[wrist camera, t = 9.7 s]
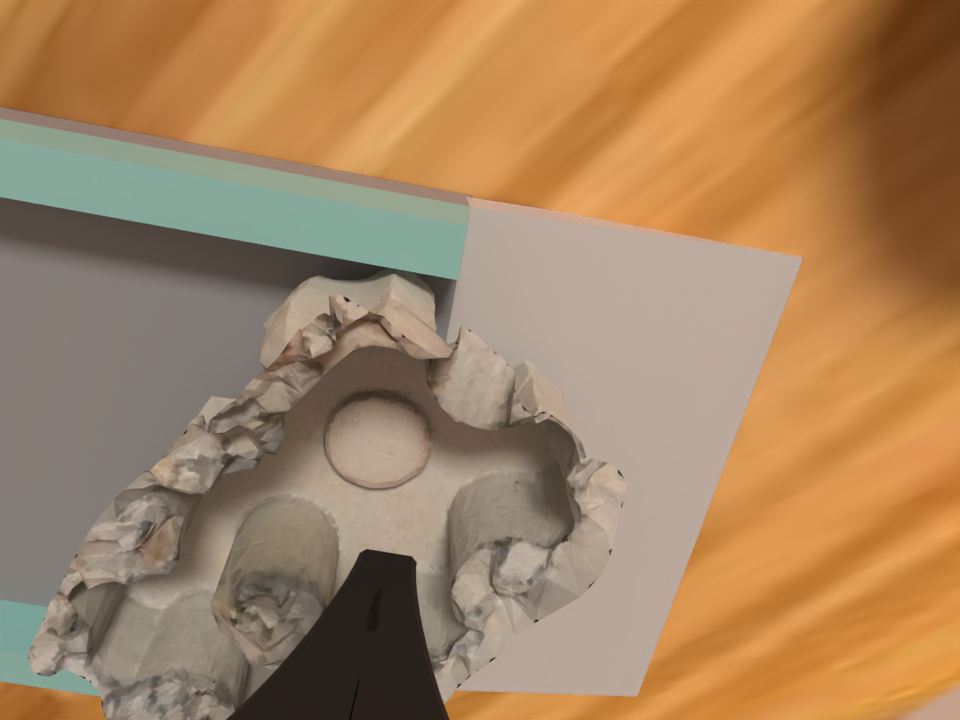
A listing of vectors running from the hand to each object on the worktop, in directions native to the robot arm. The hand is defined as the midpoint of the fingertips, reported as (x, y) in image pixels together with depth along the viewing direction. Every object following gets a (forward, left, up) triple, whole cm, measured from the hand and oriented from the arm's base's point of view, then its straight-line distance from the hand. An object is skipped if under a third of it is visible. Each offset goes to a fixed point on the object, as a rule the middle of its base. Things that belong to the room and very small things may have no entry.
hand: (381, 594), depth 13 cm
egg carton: (0, +4, -4) cm, 6 cm away
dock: (0, +4, -5) cm, 6 cm away
